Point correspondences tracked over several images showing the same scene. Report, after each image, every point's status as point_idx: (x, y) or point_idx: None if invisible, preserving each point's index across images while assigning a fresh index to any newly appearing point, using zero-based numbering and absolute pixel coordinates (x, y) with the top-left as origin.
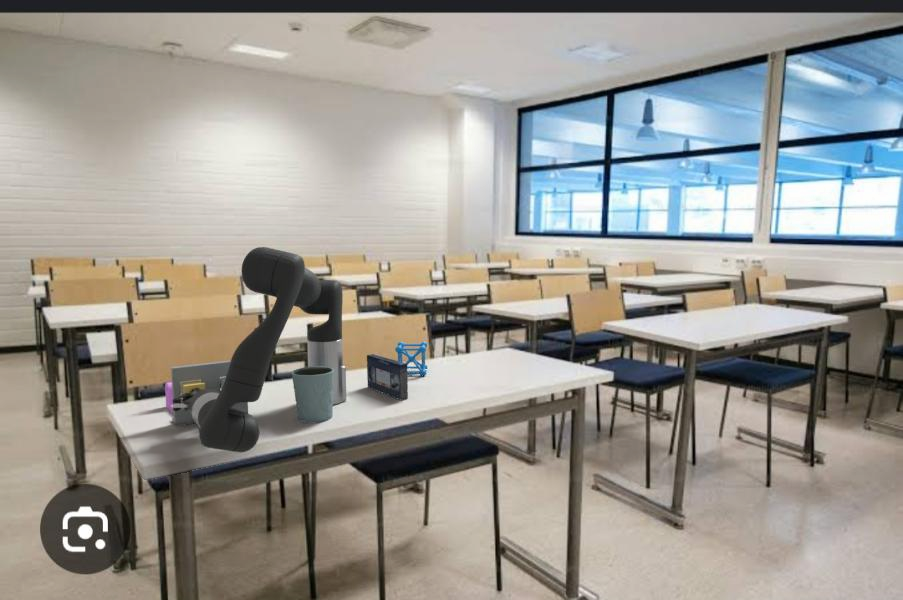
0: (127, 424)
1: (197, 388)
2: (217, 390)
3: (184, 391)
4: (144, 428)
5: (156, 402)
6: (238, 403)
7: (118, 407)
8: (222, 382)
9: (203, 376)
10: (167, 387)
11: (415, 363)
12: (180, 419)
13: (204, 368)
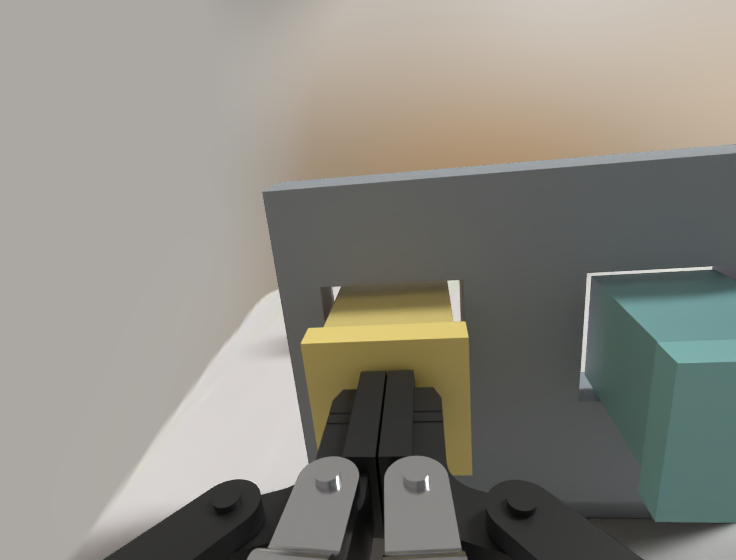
0: (194, 409)
1: (400, 382)
2: (615, 553)
3: (308, 383)
4: (201, 476)
5: None
6: None
7: (269, 299)
8: (605, 314)
9: (471, 260)
10: None
11: None
12: None
13: (479, 202)
